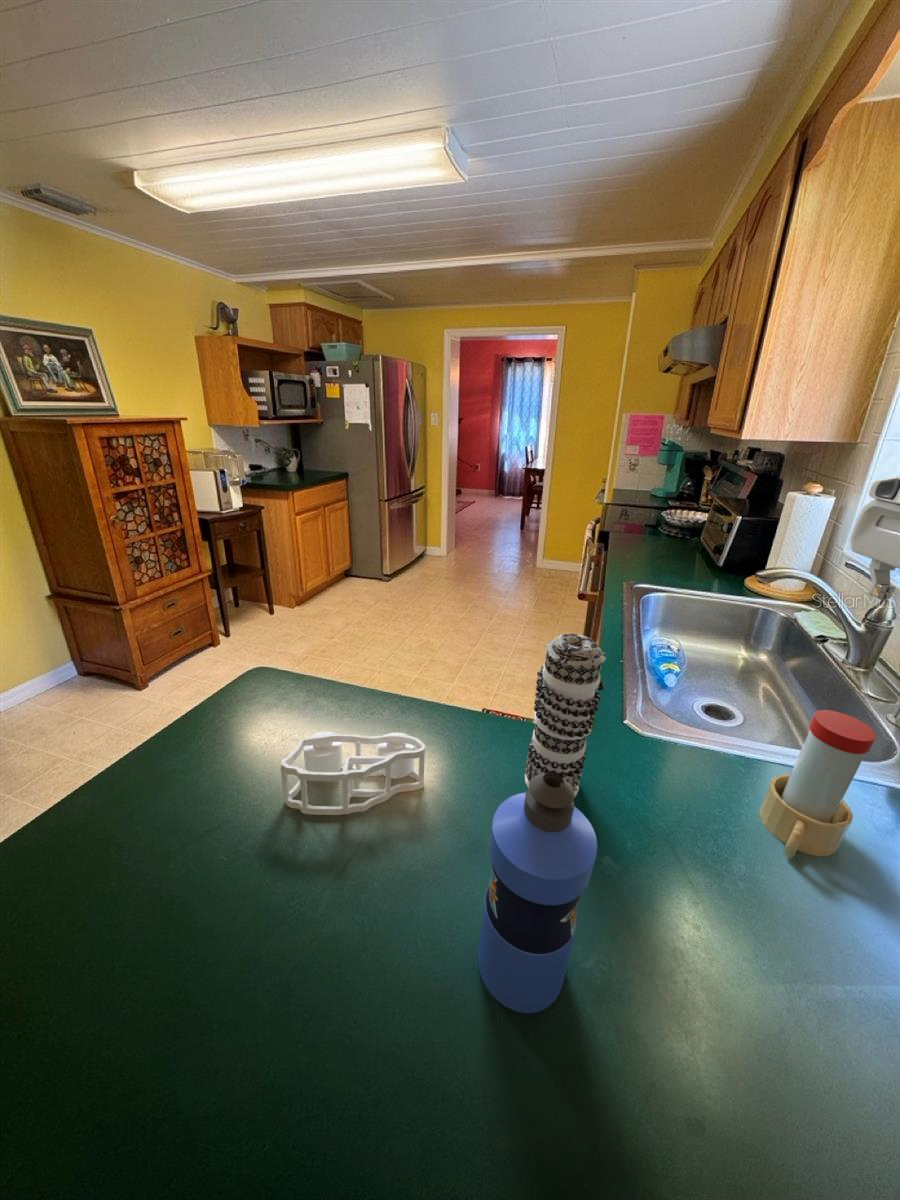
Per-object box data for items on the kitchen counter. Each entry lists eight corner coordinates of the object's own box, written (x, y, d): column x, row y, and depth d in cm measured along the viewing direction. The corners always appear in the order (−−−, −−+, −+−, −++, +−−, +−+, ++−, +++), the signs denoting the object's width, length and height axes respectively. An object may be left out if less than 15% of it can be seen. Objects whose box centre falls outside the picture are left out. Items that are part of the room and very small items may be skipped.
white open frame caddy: (424, 761, 77) (425, 724, 74) (423, 815, 67) (425, 775, 64) (299, 759, 76) (296, 722, 73) (279, 815, 65) (275, 774, 63)
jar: (802, 809, 71) (848, 710, 64) (835, 846, 65) (890, 742, 58) (761, 808, 71) (802, 709, 64) (790, 845, 65) (839, 740, 58)
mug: (766, 794, 74) (778, 764, 72) (840, 831, 68) (856, 799, 66) (745, 841, 66) (758, 809, 63) (827, 887, 60) (845, 854, 57)
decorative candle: (540, 753, 80) (562, 620, 70) (591, 782, 75) (622, 642, 65) (510, 781, 74) (530, 640, 64) (563, 815, 68) (593, 665, 58)
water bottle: (467, 996, 47) (489, 807, 37) (485, 907, 55) (507, 734, 45) (562, 1029, 45) (612, 838, 35) (567, 932, 53) (608, 756, 43)
